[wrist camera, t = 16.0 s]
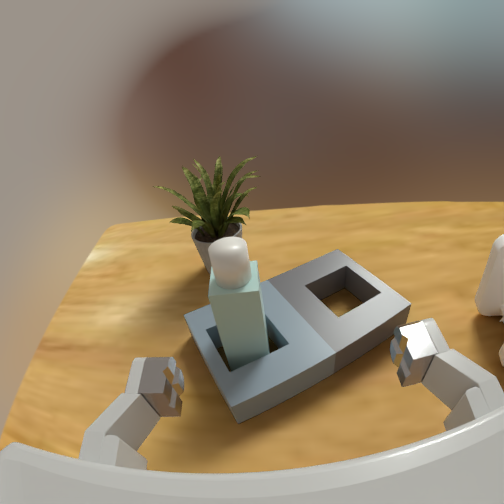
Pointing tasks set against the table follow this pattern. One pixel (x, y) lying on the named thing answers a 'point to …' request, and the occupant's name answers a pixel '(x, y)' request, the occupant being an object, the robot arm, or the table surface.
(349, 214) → the table surface
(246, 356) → the plug
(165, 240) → the table surface
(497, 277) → the cable organizer
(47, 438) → the table surface
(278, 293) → the socket panel
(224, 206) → the house plant
